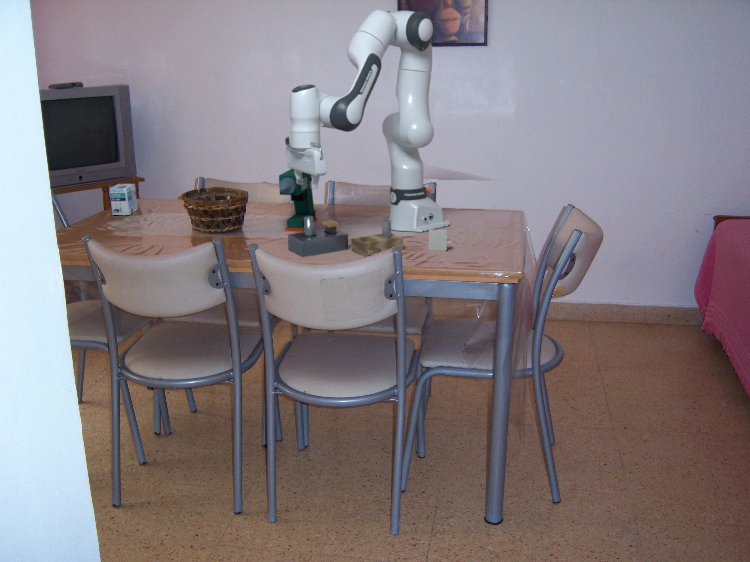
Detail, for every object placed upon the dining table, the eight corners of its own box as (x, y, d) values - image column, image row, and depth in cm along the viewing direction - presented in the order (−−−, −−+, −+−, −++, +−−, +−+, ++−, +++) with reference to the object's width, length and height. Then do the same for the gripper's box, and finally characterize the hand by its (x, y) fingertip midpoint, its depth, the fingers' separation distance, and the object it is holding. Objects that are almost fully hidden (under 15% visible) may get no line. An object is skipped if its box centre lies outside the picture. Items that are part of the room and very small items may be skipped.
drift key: (331, 244, 252) (330, 219, 249) (339, 247, 247) (338, 222, 245) (322, 245, 250) (321, 221, 248) (330, 249, 246) (329, 224, 243)
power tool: (293, 241, 257) (290, 181, 251) (272, 240, 258) (269, 180, 252) (319, 220, 287) (317, 165, 281) (300, 219, 288) (298, 165, 282)
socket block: (333, 242, 255) (332, 227, 253) (348, 249, 246) (348, 234, 245) (288, 249, 247) (287, 234, 245) (302, 257, 239) (301, 241, 237)
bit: (311, 249, 247) (310, 215, 244) (315, 251, 245) (314, 216, 241) (303, 250, 246) (302, 216, 242) (307, 252, 243) (306, 218, 240)
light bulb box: (129, 216, 297) (126, 188, 294) (112, 216, 297) (108, 188, 294) (138, 210, 307) (135, 183, 304) (121, 210, 307) (118, 183, 304)
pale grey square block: (427, 250, 246) (427, 227, 244) (449, 250, 246) (450, 227, 244) (428, 253, 243) (428, 230, 241) (450, 253, 243) (451, 229, 240)
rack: (389, 244, 252) (389, 217, 249) (403, 249, 245) (403, 221, 242) (351, 250, 245) (350, 222, 242) (364, 256, 238) (363, 227, 236)
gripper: (331, 143, 228) (332, 190, 232) (300, 136, 245) (301, 180, 249) (311, 145, 225) (313, 193, 229) (281, 138, 242) (283, 182, 246)
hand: (307, 186), depth 239 cm, fingers open, 8 cm apart
